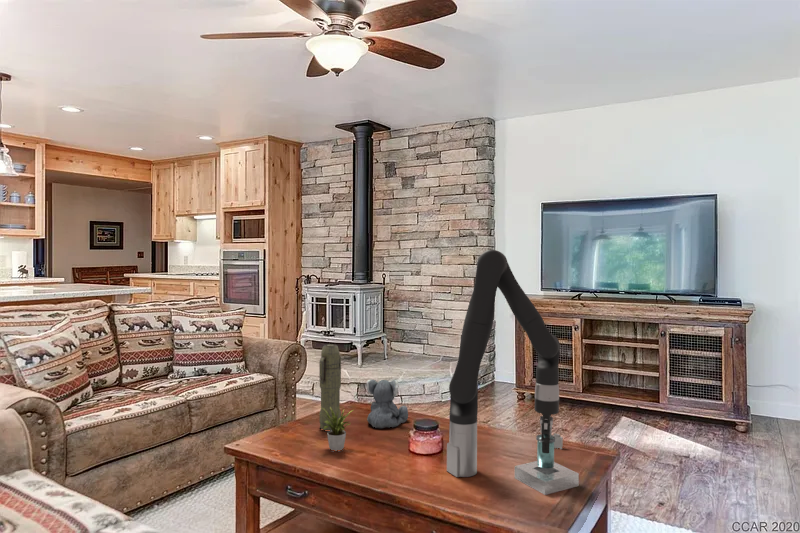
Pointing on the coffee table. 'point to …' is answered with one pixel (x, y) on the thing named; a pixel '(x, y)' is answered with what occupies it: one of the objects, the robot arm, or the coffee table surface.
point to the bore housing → (546, 477)
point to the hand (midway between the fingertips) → (545, 449)
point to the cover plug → (545, 458)
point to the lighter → (558, 441)
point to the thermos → (330, 383)
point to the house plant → (336, 430)
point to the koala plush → (385, 404)
